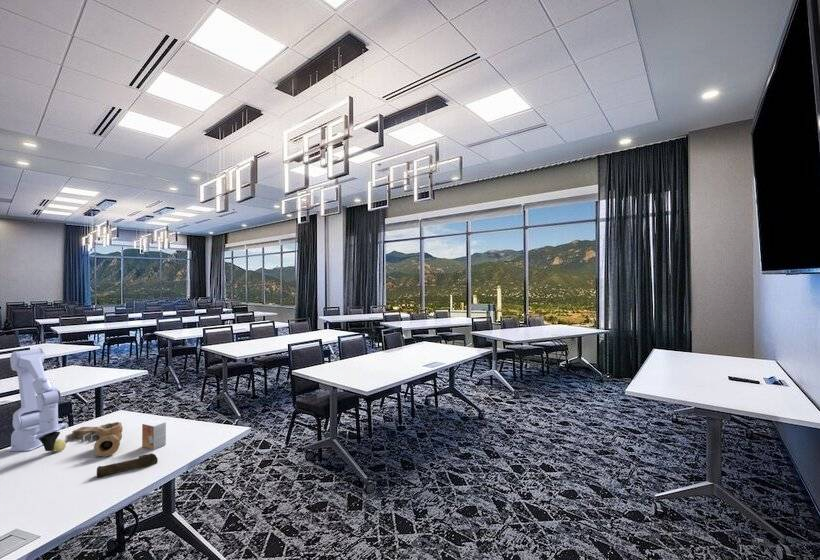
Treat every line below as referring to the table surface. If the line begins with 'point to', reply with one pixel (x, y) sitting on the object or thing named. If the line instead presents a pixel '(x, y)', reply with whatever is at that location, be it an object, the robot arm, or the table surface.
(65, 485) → the table surface
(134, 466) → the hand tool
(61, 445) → the knob
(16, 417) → the robot arm
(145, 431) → the small box
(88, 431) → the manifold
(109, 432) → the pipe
